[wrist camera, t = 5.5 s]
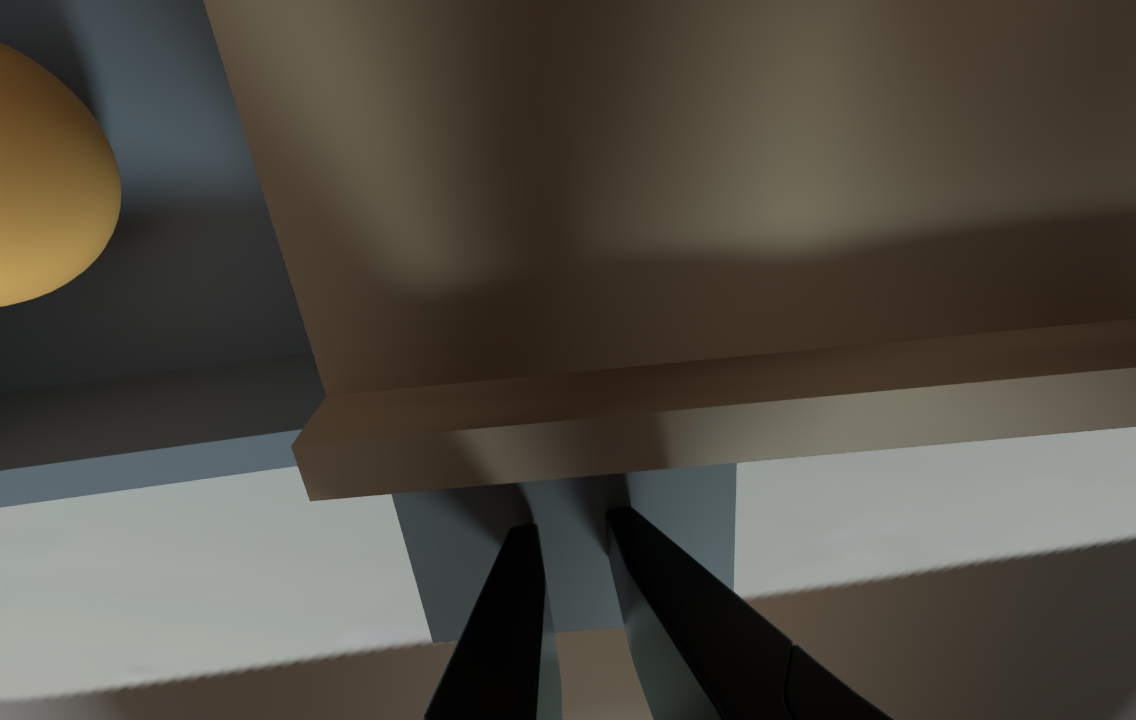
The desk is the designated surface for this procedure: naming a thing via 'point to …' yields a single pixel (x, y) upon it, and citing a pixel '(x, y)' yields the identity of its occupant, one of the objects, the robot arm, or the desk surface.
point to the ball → (49, 182)
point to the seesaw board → (681, 250)
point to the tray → (154, 277)
